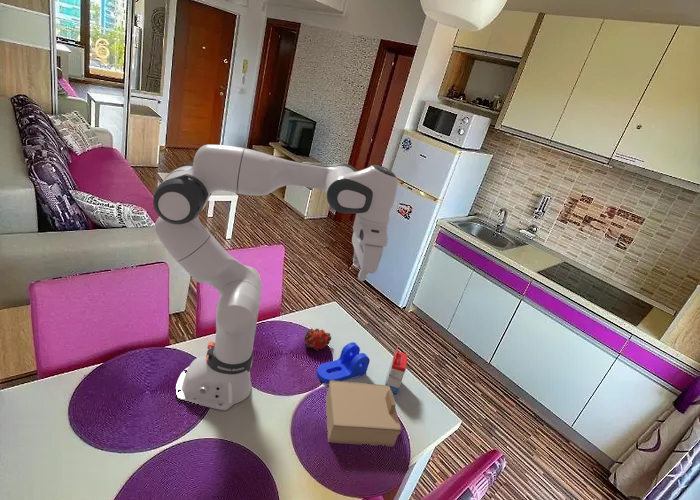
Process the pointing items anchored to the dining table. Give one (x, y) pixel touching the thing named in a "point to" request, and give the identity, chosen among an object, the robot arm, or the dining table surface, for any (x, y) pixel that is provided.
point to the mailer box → (353, 436)
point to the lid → (363, 408)
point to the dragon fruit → (317, 339)
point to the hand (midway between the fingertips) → (358, 271)
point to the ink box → (396, 371)
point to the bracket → (344, 365)
